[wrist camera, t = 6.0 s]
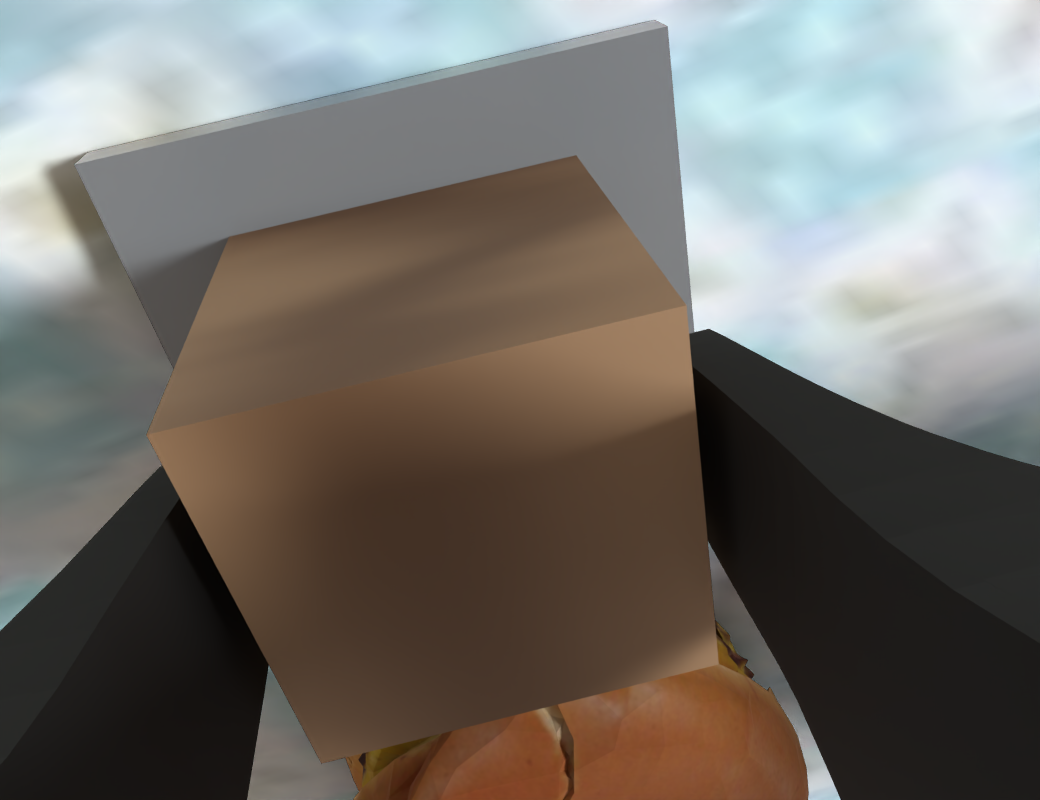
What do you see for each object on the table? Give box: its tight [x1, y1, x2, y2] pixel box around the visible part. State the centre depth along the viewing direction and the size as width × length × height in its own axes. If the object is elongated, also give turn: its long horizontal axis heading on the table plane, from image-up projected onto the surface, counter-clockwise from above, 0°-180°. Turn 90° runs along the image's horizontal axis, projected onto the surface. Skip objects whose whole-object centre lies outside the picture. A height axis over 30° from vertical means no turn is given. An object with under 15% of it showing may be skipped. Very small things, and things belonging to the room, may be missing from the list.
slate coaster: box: [74, 20, 694, 369], centre depth 13 cm, size 8×8×1 cm
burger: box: [346, 620, 809, 800], centre depth 17 cm, size 10×9×5 cm
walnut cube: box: [146, 155, 719, 764], centre depth 11 cm, size 5×5×5 cm
